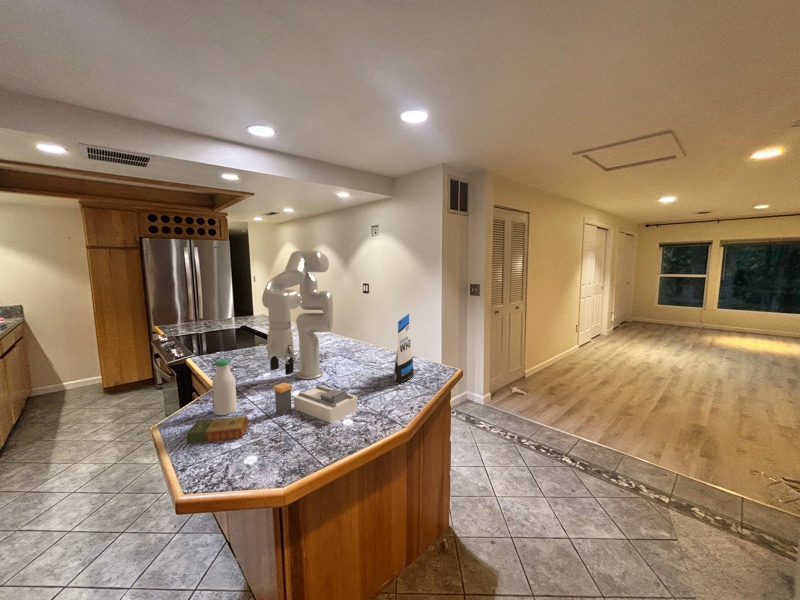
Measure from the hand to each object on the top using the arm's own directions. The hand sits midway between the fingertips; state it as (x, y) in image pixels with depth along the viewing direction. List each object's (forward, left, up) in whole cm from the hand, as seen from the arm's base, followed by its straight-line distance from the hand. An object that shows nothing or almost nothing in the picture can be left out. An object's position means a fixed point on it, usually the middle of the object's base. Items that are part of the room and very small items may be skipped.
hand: (282, 371), depth 122 cm
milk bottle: (-19, -12, -16) cm, 28 cm away
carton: (-4, -22, -17) cm, 28 cm away
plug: (0, 0, -16) cm, 16 cm away
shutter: (+16, +11, -11) cm, 22 cm away
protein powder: (+16, +58, -16) cm, 62 cm away
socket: (+11, +11, -16) cm, 22 cm away
